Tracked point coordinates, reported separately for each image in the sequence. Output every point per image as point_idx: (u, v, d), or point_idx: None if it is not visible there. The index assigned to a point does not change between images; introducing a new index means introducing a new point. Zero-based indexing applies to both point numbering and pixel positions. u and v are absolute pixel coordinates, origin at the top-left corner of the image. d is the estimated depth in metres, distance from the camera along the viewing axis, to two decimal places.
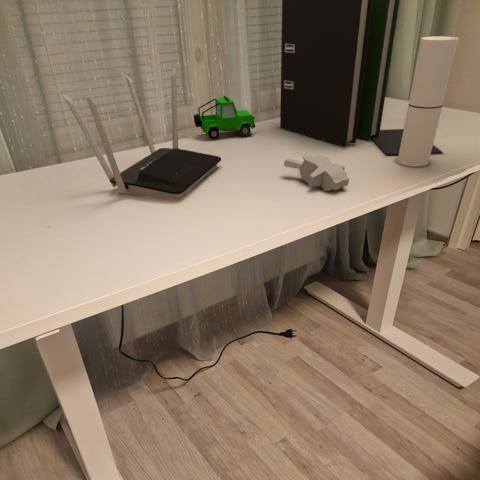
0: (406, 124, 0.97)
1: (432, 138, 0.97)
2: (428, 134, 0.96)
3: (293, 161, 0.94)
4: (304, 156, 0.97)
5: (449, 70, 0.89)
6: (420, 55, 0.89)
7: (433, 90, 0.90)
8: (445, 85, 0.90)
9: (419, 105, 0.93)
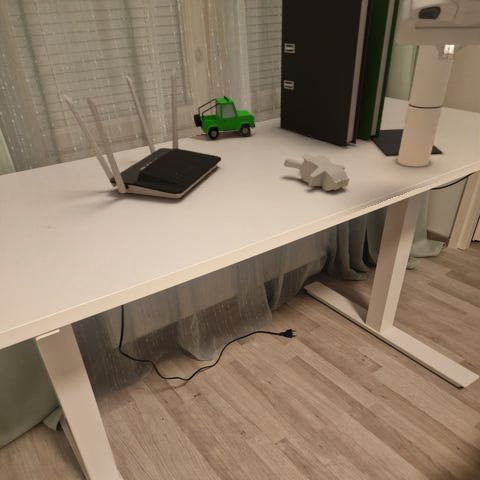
0: (406, 124, 0.97)
1: (432, 138, 0.97)
2: (428, 134, 0.96)
3: (293, 161, 0.94)
4: (304, 156, 0.97)
5: (449, 70, 0.89)
6: (420, 55, 0.89)
7: (433, 90, 0.90)
8: (445, 85, 0.90)
9: (419, 105, 0.93)
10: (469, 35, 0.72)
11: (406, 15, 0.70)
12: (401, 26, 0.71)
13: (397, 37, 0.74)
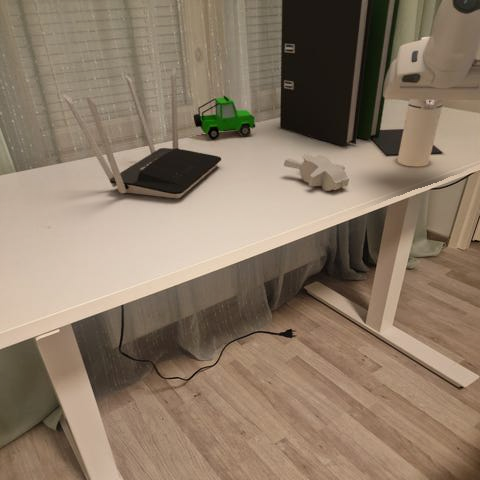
0: (406, 124, 0.97)
1: (432, 138, 0.97)
2: (428, 134, 0.96)
3: (293, 161, 0.94)
4: (304, 156, 0.97)
5: None
6: None
7: None
8: None
9: (419, 105, 0.93)
10: (446, 93, 0.84)
11: (392, 78, 0.82)
12: (388, 86, 0.84)
13: (385, 93, 0.86)
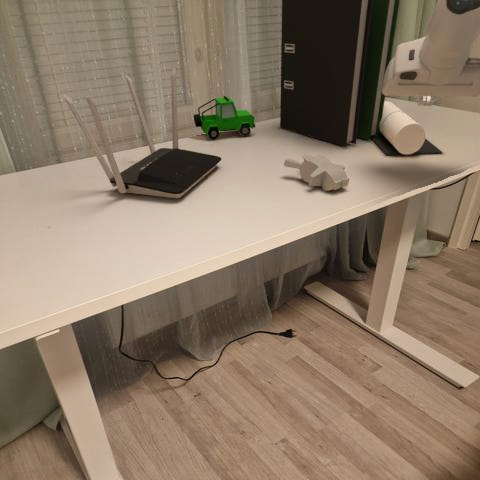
0: (386, 129, 1.10)
1: (413, 120, 1.06)
2: (405, 116, 1.07)
3: (293, 161, 0.94)
4: (304, 156, 0.97)
5: (398, 108, 1.17)
6: None
7: (391, 108, 1.14)
8: None
9: (387, 115, 1.12)
10: (441, 90, 0.89)
11: (390, 75, 0.87)
12: (386, 83, 0.88)
13: (383, 90, 0.91)
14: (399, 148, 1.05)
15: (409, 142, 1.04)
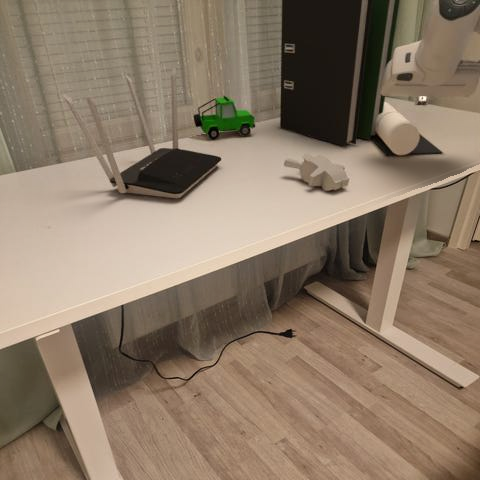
0: (380, 135, 1.11)
1: (403, 118, 1.06)
2: (395, 117, 1.07)
3: (293, 161, 0.94)
4: (304, 156, 0.97)
5: (390, 106, 1.17)
6: None
7: None
8: (392, 108, 1.14)
9: (379, 120, 1.13)
10: (436, 90, 0.94)
11: (388, 76, 0.92)
12: (384, 84, 0.94)
13: (382, 91, 0.96)
14: (396, 151, 1.05)
15: (404, 143, 1.04)
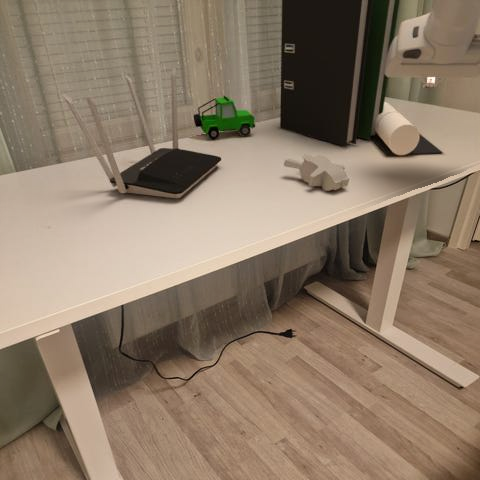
0: (380, 135, 1.11)
1: (403, 118, 1.06)
2: (395, 117, 1.07)
3: (293, 161, 0.94)
4: (304, 156, 0.97)
5: (390, 106, 1.17)
6: None
7: None
8: (392, 108, 1.14)
9: (379, 120, 1.13)
10: (446, 70, 0.85)
11: (393, 54, 0.83)
12: (389, 63, 0.85)
13: (386, 71, 0.88)
14: (396, 151, 1.05)
15: (404, 143, 1.04)
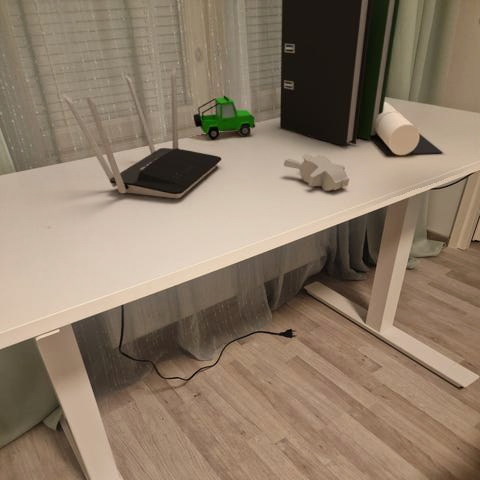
0: (380, 135, 1.11)
1: (403, 118, 1.06)
2: (395, 117, 1.07)
3: (293, 161, 0.94)
4: (304, 156, 0.97)
5: (390, 106, 1.17)
6: None
7: None
8: (392, 108, 1.14)
9: (379, 120, 1.13)
10: None
11: None
12: None
13: None
14: (396, 151, 1.05)
15: (404, 143, 1.04)
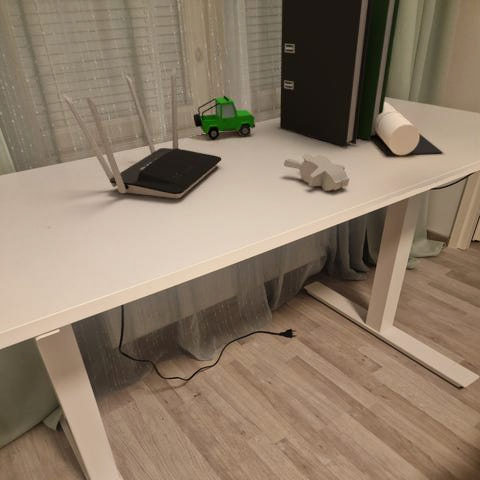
0: (380, 135, 1.11)
1: (403, 118, 1.06)
2: (395, 117, 1.07)
3: (293, 161, 0.94)
4: (304, 156, 0.97)
5: (390, 106, 1.17)
6: None
7: None
8: (392, 108, 1.14)
9: (379, 120, 1.13)
10: None
11: None
12: None
13: None
14: (396, 151, 1.05)
15: (404, 143, 1.04)
